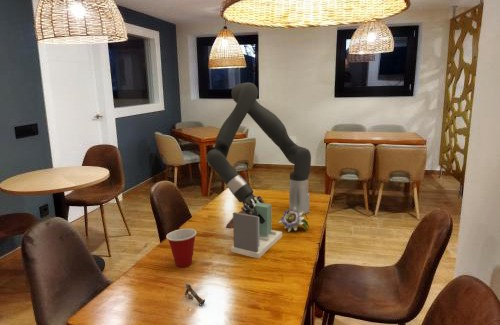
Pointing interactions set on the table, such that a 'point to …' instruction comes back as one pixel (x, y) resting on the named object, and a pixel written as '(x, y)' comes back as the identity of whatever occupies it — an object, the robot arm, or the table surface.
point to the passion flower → (293, 219)
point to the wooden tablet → (230, 224)
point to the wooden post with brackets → (193, 294)
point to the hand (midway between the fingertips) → (265, 220)
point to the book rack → (251, 236)
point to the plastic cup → (182, 246)
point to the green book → (266, 214)
